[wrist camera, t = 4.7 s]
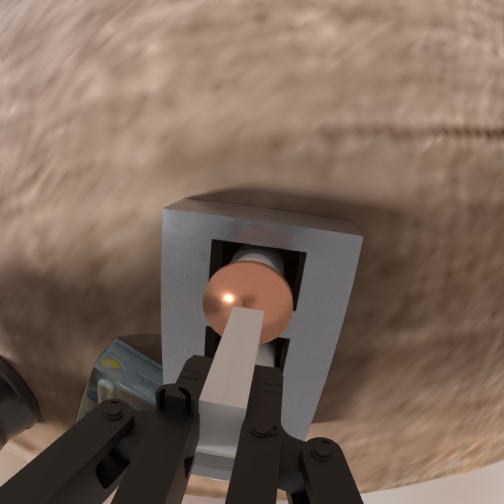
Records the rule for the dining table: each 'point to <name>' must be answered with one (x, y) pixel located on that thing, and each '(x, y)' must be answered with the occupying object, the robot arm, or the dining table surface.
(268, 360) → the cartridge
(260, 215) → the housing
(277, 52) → the dining table surface
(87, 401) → the beverage carton
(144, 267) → the dining table surface
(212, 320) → the plunger
